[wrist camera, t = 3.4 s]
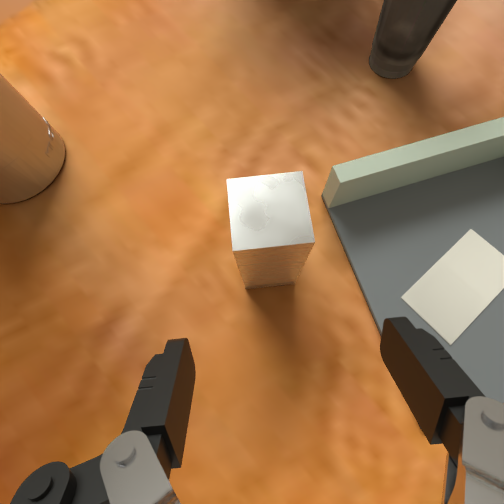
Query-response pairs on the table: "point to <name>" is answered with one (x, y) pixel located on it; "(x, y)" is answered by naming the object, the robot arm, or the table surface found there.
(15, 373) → the table surface
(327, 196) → the corner walls
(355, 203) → the mat
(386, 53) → the beverage cup
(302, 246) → the bracket
